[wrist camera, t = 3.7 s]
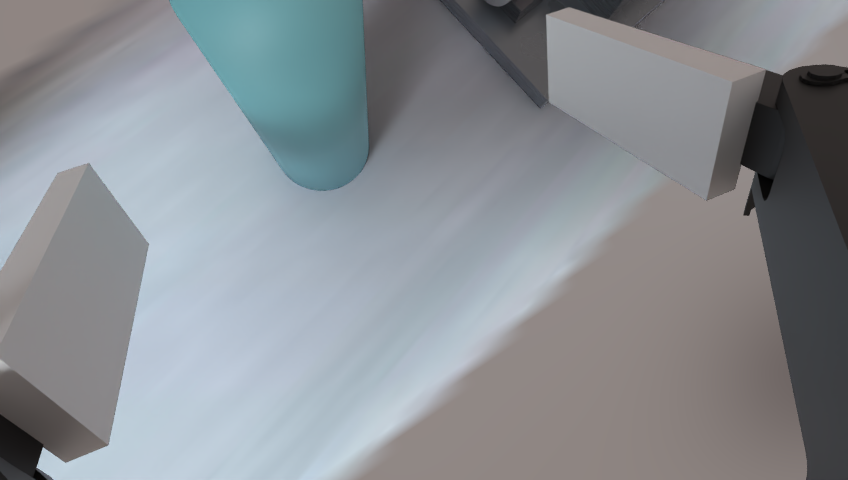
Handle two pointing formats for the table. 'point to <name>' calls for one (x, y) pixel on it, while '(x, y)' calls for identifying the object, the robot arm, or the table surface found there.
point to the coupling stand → (533, 31)
